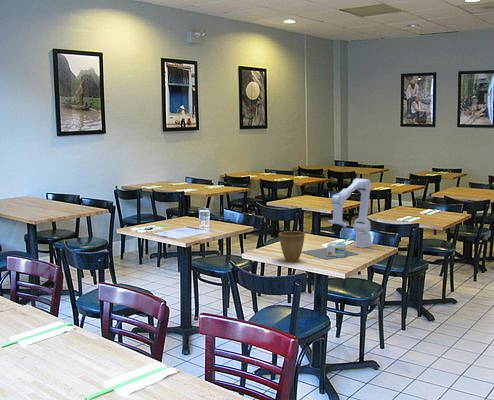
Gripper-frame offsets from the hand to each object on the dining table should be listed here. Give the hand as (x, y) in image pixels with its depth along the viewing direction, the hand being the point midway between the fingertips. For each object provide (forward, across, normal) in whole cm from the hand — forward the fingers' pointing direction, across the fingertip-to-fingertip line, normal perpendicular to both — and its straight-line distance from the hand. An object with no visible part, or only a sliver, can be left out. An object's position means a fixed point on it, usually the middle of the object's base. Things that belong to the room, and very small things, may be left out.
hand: (337, 236), depth 354 cm
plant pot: (+10, +2, -37) cm, 39 cm away
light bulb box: (+6, +3, -2) cm, 7 cm away
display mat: (+10, 0, -6) cm, 12 cm away
